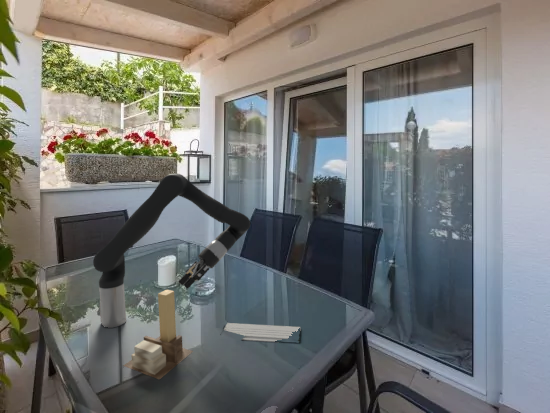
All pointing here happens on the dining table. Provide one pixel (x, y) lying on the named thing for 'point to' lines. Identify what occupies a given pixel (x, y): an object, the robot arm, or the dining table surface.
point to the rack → (172, 355)
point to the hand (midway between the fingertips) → (182, 285)
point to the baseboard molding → (261, 331)
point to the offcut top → (148, 350)
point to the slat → (167, 315)
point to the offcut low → (149, 363)
